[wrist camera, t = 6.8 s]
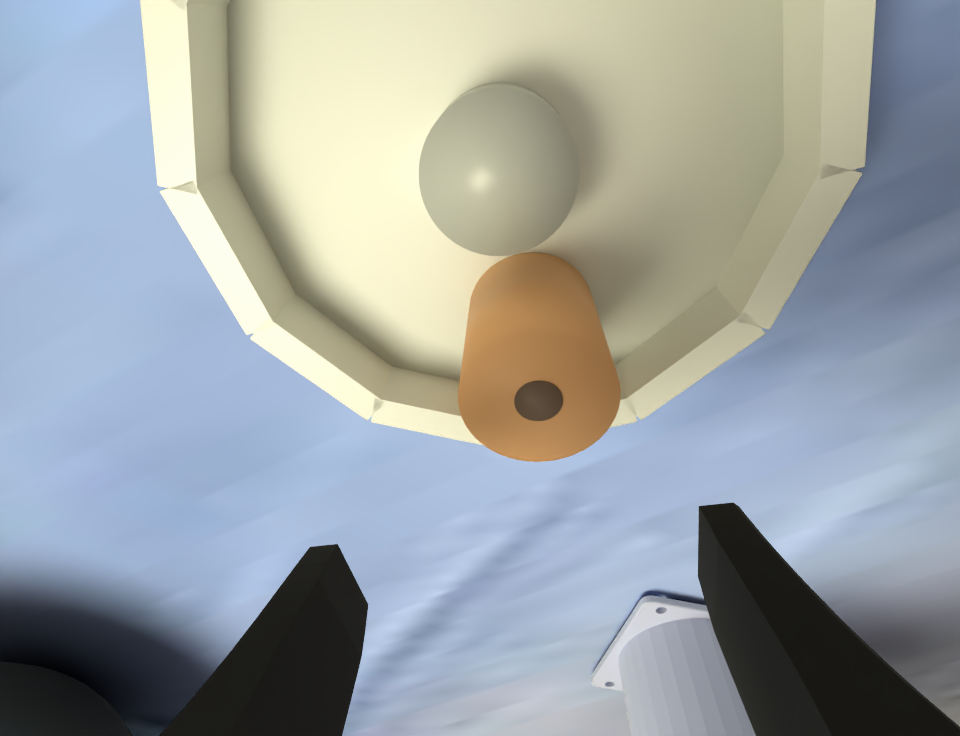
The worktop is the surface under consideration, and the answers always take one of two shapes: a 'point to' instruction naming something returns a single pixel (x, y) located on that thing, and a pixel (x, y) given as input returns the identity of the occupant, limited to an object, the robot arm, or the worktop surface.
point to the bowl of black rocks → (52, 705)
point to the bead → (536, 361)
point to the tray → (648, 184)
